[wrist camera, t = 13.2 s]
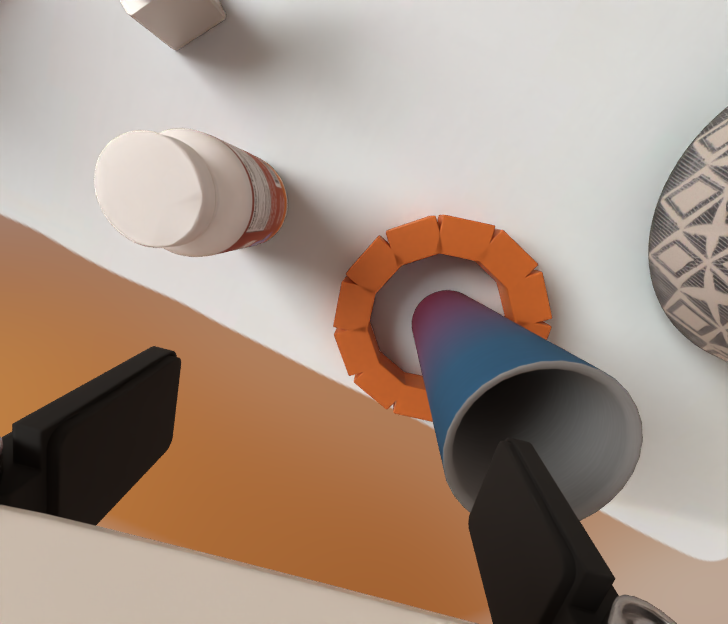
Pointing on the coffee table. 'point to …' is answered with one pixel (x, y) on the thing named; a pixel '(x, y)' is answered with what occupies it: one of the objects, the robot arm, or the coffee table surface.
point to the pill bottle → (188, 192)
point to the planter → (695, 241)
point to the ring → (413, 243)
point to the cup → (521, 403)
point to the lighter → (176, 18)
